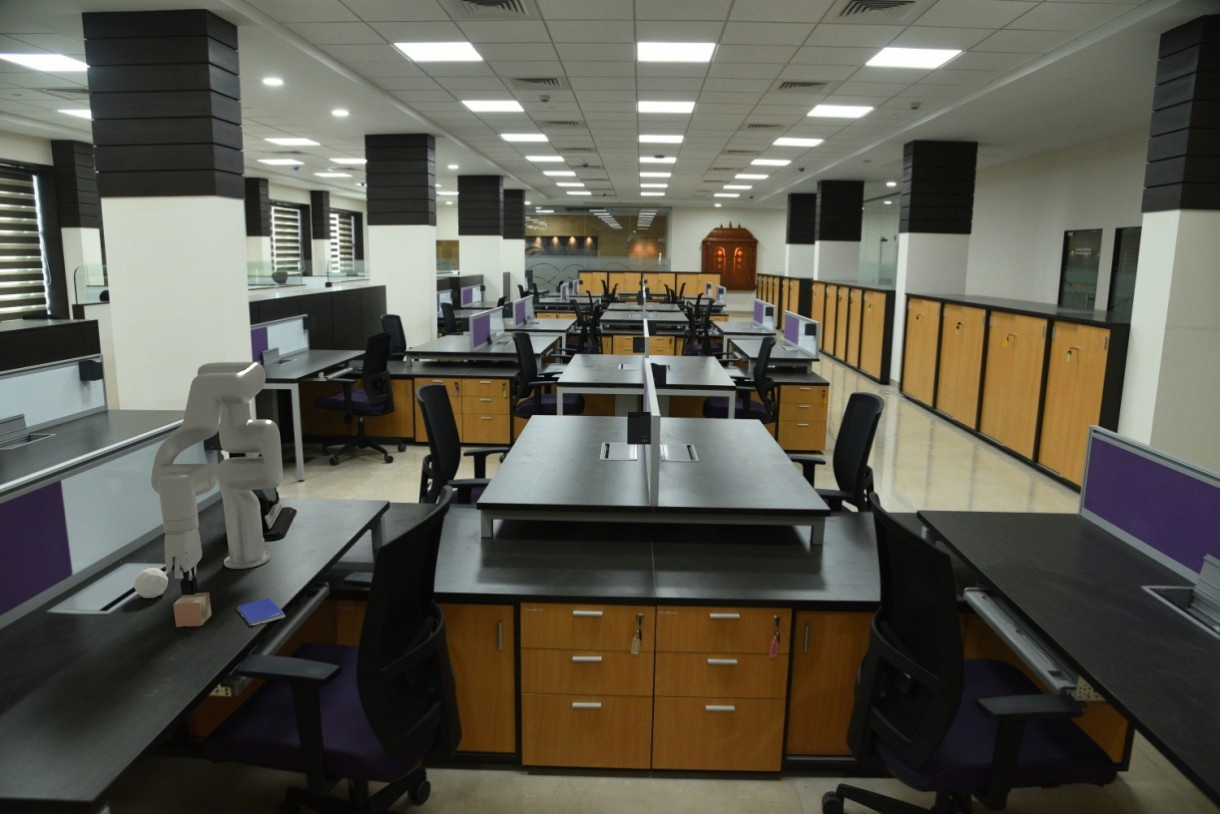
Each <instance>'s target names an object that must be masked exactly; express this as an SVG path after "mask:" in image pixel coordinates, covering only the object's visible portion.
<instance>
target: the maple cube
mask: <svg viewBox="0 0 1220 814" xmlns="http://www.w3.org/2000/svg"><path fill="white" fill-rule="evenodd" d="M173 612H174V618H175V619H174V621H175V627H176V628H183V626H187V627H201V625H202V626H203V625H204V624H205V623H206V622H207V621H208V620H209V618H211V616H213V615H212V614H213V613H212V605H211V597H210V592H198V593H196V594H195V595H182V594H181V596H180V597H179V598H178V599H177V600H176V601H175V602H174V603H173ZM205 621H206V622H205ZM204 622H205V623H204ZM203 623H204V624H203Z"/></svg>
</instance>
